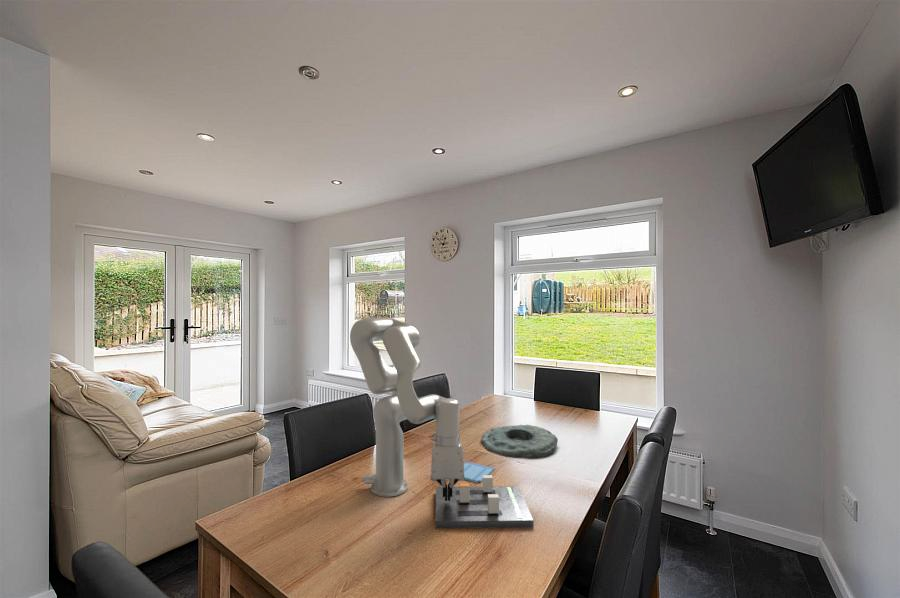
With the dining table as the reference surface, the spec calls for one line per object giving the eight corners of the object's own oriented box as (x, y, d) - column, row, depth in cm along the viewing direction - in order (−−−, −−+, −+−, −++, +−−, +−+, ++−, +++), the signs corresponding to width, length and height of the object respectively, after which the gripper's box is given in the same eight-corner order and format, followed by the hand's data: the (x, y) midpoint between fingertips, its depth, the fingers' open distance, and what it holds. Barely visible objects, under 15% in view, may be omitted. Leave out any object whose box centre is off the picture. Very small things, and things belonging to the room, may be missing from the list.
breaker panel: (435, 528, 111) (435, 521, 111) (435, 492, 132) (435, 486, 132) (533, 527, 112) (533, 519, 112) (518, 492, 133) (518, 485, 133)
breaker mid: (459, 502, 121) (459, 486, 121) (459, 499, 123) (459, 483, 123) (469, 502, 121) (469, 486, 121) (469, 499, 123) (469, 483, 123)
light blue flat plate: (479, 484, 139) (480, 481, 139) (450, 477, 145) (450, 473, 145) (494, 471, 151) (494, 467, 151) (466, 464, 157) (466, 461, 157)
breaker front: (488, 513, 114) (488, 497, 114) (487, 509, 116) (487, 494, 116) (498, 513, 114) (498, 497, 115) (497, 509, 116) (497, 494, 117)
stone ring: (551, 433, 195) (551, 423, 195) (564, 460, 161) (564, 448, 161) (482, 430, 198) (482, 421, 198) (480, 456, 164) (480, 445, 164)
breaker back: (483, 492, 127) (483, 477, 127) (482, 489, 129) (482, 475, 129) (492, 492, 127) (492, 477, 128) (491, 489, 129) (491, 475, 130)
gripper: (423, 444, 118) (422, 505, 117) (472, 443, 118) (472, 504, 118) (423, 435, 125) (423, 493, 125) (470, 435, 126) (470, 492, 125)
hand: (447, 498), depth 121 cm, fingers closed
